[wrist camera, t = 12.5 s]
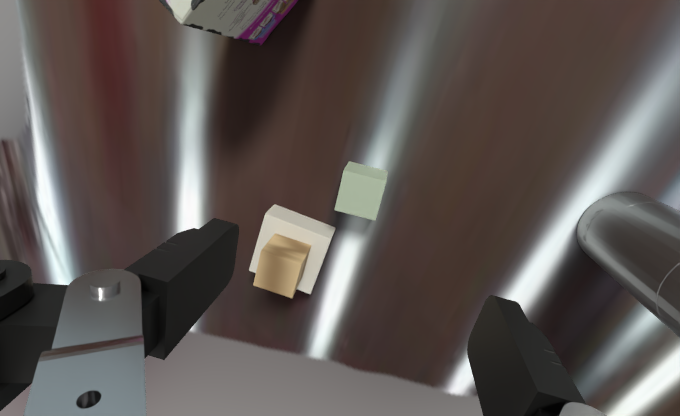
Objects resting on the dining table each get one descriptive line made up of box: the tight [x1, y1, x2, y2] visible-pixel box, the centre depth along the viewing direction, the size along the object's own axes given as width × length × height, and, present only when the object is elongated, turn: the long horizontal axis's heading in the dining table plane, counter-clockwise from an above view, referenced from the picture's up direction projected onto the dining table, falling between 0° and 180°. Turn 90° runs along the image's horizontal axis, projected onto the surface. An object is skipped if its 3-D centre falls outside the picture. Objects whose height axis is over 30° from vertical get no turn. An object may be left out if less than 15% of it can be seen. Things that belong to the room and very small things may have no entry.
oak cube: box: [253, 233, 311, 298], centre depth 44 cm, size 5×5×5 cm
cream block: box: [249, 204, 336, 294], centre depth 48 cm, size 9×9×4 cm
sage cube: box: [335, 161, 387, 221], centre depth 43 cm, size 5×5×5 cm
